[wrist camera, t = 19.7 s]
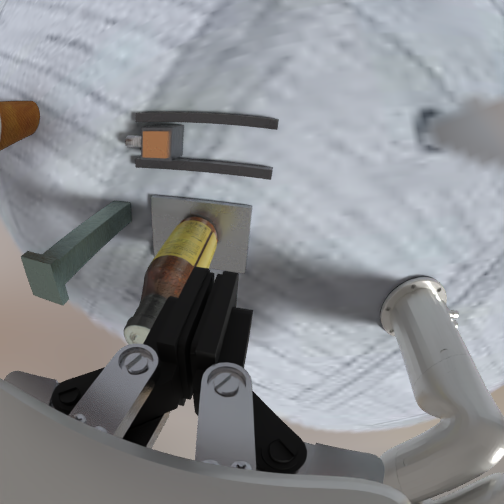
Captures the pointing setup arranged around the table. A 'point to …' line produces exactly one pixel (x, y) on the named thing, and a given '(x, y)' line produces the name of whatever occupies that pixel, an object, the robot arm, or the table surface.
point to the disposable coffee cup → (17, 121)
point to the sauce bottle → (171, 272)
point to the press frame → (155, 215)
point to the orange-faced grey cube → (158, 142)
